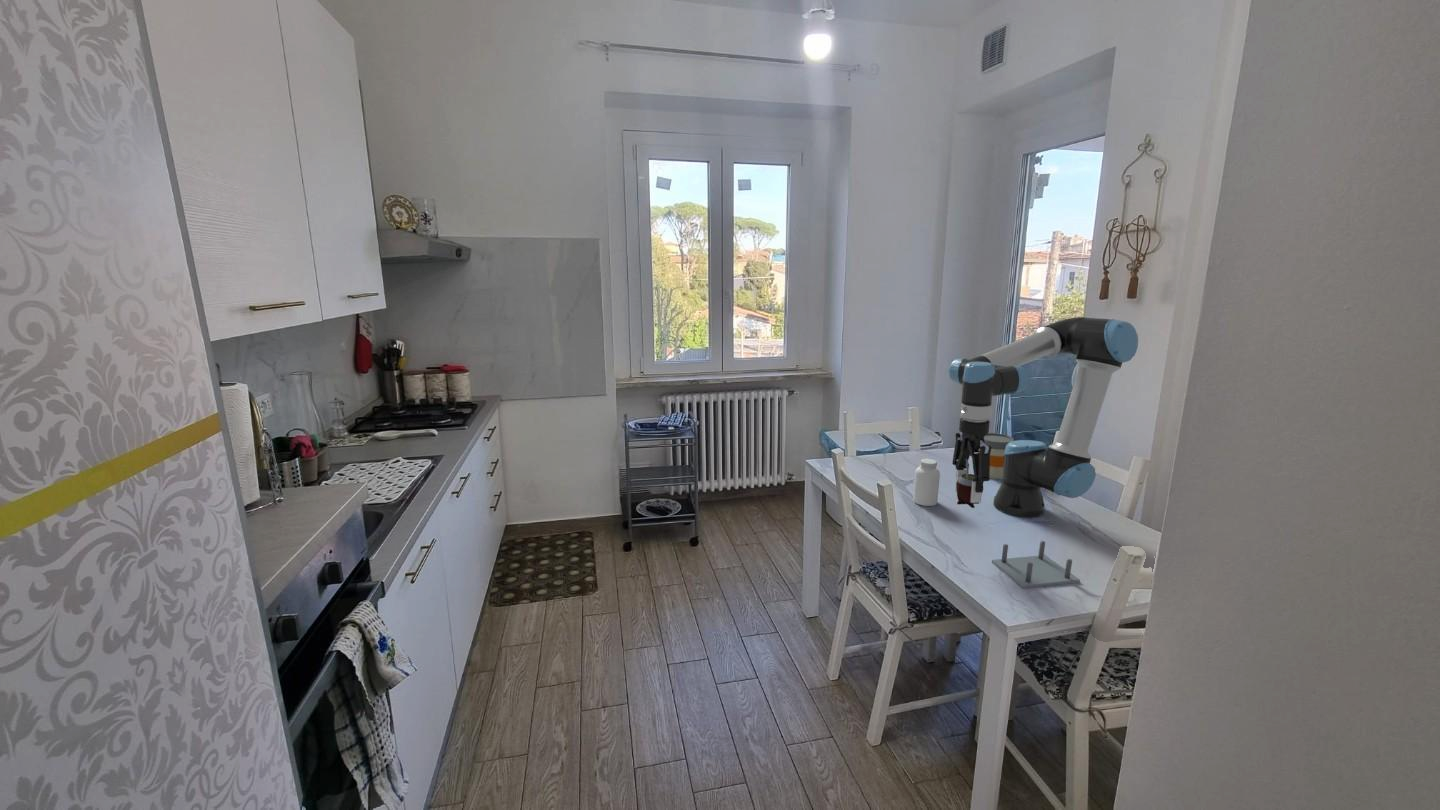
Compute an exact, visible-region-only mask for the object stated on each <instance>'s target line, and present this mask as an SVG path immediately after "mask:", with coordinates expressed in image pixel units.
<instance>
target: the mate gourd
mask: <svg viewBox="0 0 1440 810" xmlns="http://www.w3.org/2000/svg"><path fill="white" fill-rule="evenodd" d="M965 460H966V469H965V470H966V474H963V475H961V476H960V477H959V478H958V479H957V483H956V482H955V489H956V490H957V492H956V497H957V502H956V503H957V505H968V506H969V507H970V508H971V509H975V505H978V504H980V502H978V503H971V502H970V500H971V489H972V479H974V473H969V468H970V463H969V460H967V459H965ZM978 477H979V476H978ZM983 492H984V490H983V491H982V493H983Z"/></svg>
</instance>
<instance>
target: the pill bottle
mask: <svg viewBox="0 0 1440 810" xmlns="http://www.w3.org/2000/svg"><path fill="white" fill-rule="evenodd" d="M937 467H938V462H937V460H935V459H931V458H922V459H920V462H919V466H917V467H916V469H915V472H914V485H913V497H912V498H913V502H914V503H915V504H917V505H920V506H922V507H923V506H924V507H933V506H936V505H937V504H938V498H939V490H940V478H941V473H940V469H938V468H937Z"/></svg>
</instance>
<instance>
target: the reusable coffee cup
mask: <svg viewBox="0 0 1440 810" xmlns="http://www.w3.org/2000/svg"><path fill="white" fill-rule="evenodd" d="M984 441H985V444H986V445H987V446H991V452H990V478H989V479H995V480H998V479H999V480H1000V479H1001V480H1002V474H1003V463H1004V453H1005V449H1006V445H1007V444H1008V443H1009V442H1012V441H1015V439H1014V438H1013V437H1012V436H1010V435H1006V434H1002V433H997V432H995V433H993V432H989V433H988V434H986V435H985V436H984ZM977 453H979V452H977Z"/></svg>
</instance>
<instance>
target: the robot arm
mask: <svg viewBox="0 0 1440 810" xmlns="http://www.w3.org/2000/svg"><path fill="white" fill-rule="evenodd" d="M1138 347H1139V336H1138V333H1137V329H1136V328H1135V327H1134V325H1133V324H1132V323H1131V322H1128V321H1125V320H1118V319H1114V318H1111V319H1108V318H1095V317H1084V316H1076V317H1075V316H1074V317H1069V318H1066V319H1062V320H1058V321H1055V322H1052V323H1050V324H1047V325H1045V326H1041V327H1039V328H1038V329H1036V331H1035V332H1034V333H1032V334H1031V335H1027V336H1025V337H1024V338H1021V339H1020V338H1019V339H1018V340H1016V341H1013V342H1011V343H1007V344H1005V345H1003V346H1001V347H998V348H995V349H994V350H991V351H988V352H986V353H982V354H980V355H978V356H976V357H972V358H970V359H969V358H956V359H954V360H953V361H952V362H951V363H950V365H949V368H948V376H949V379H950V380H951V381H952V382H954V383H957V384H960V385H962V393H961V404H960V419H959V423H958V424H959V426H958V431H959V432H957V433H955V444H954V451H953V457H952V465H953V466H955V469H956V473H955V474H956V475H955V484H956V483H957V479H958V478H959V477H960V476H961V475H963V474H966V460H965V459H967V460H968V461H969V460H970V457H971V461H972V469H973V470H972V471H973V475H974V479H972V489H971V500H970V502H971V503H978V502H979V503H982V496H983V492H984V482H989V481H990V479H991V478H990V452H991V446H987V445H986V444H985V441H984V436H985V435H986V434H988V433H990V419H991V414H992V403H993V402H992V400H993V397H994V396H995V397H996V396H1003V395H1013V394H1017V393H1020V392H1023V391H1025V390H1026V389H1027V387H1028V385H1029V380H1030V376H1029V374H1028V371H1027V370H1026V369H1025V368H1024V367H1022V366H1024V365H1026V364H1028V363H1032V362H1033V361H1035V360H1037V359H1040V358H1043V357H1054V356H1056V355H1060V354H1061V355H1062V354H1064V355H1065V354H1066V355H1074V356H1076V358H1075V361H1076V363H1077V365H1078V367H1079V368H1078V370H1077V374H1076V376H1075V377H1076V378H1075V380H1074V384H1073V385H1072V389H1071V393H1070V396H1069V400H1068V402H1067V405H1066V408H1065V412H1064V415H1063V418H1062V422H1061V423H1060V424H1061V425H1060V427H1059V431H1058V433H1057V434H1058V435H1057V438H1056V440H1055V442H1053V443H1051V444H1050V445H1048V447H1047V443H1045V442H1044V441H1043V442H1042V441H1040V440H1031V439H1030V440H1029V439H1027V440H1026V439H1019V440H1014V441H1012V442H1009V443H1008V444H1007V445H1006V449H1005V453H1004V463H1003V474H1002V478H1001V483H1000V486H999V488H998V490H997V492H996V494H995V496H994V497H993V507H995V508H996V509H997V510H998V511H1000V512H1002V513H1004V514H1008V515H1011V516H1015V517H1022V518H1036V517H1040V516H1042V515H1044V514H1045V510H1046V509H1045V508H1046V507H1045V501H1044V498H1043V492H1042V489H1044V490H1048V491H1050V492H1052V493H1054V494H1056V495H1057V496H1062V497H1065V498H1070V499H1075V498H1076V499H1077V498H1079V497H1081V496H1083V495H1084V494H1086V493H1087V492H1088V491H1089V490H1090V489H1091V487H1092V485H1093V484H1094V482H1095V479H1096V476H1097V475H1096V468H1095V467H1094V465H1092V464H1091V461H1092V458H1093V457H1092V455H1091V454H1090V452H1089V451H1088V450H1089V447H1090V445H1091V441H1092V437H1093V435H1094V432H1095V428H1096V426H1097V422H1098V420H1099V416H1100V413H1101V410H1102V407H1103V403H1104V401H1105V397H1106V395H1107V392H1108V388H1109V385H1110V382H1111V379H1112V376H1113V373H1116V372H1117V371H1119V370H1120V369H1121V368H1122V366H1123V365H1122V364H1123V363H1127V362H1130V361H1131V360H1132V359H1133V357H1135V355H1136V353H1137V351H1138ZM978 452H979V453H978ZM978 476H979V477H978ZM982 491H983V492H982ZM955 492H956V493H957V490H956V488H955Z"/></svg>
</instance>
